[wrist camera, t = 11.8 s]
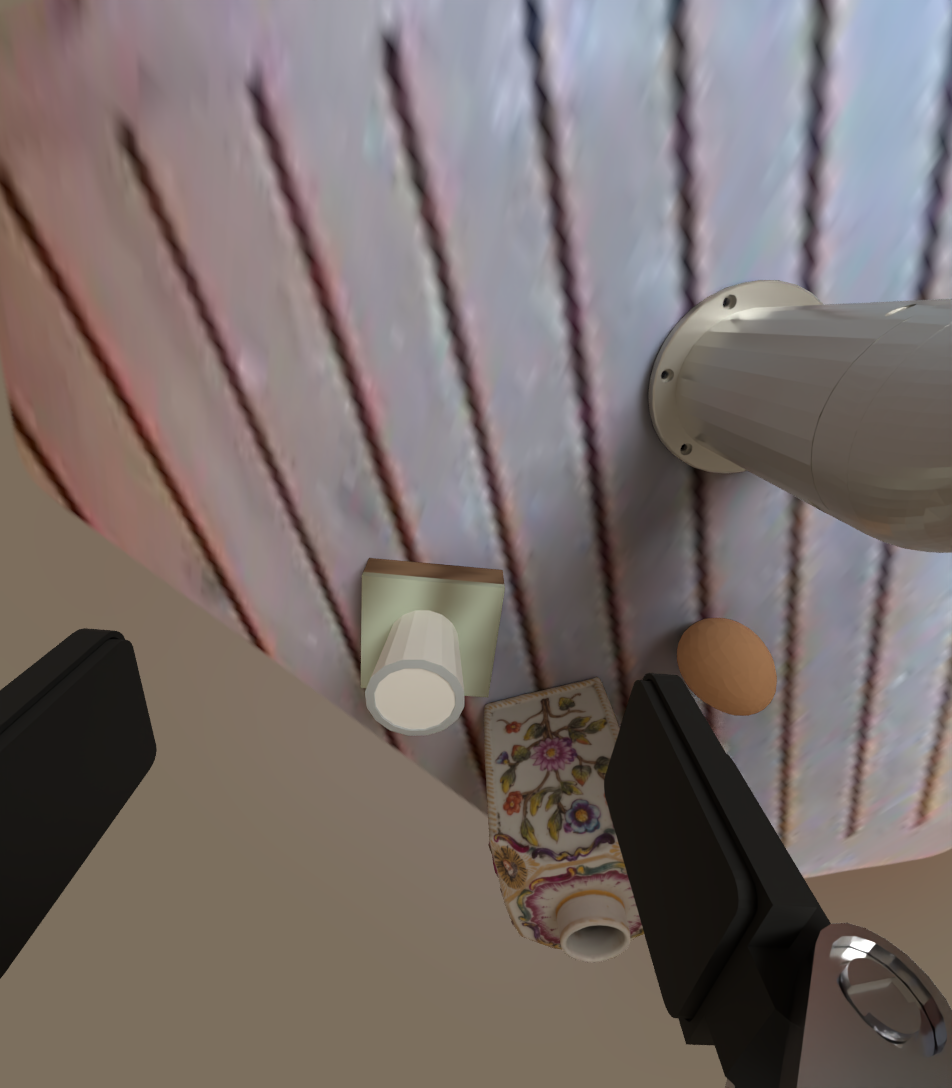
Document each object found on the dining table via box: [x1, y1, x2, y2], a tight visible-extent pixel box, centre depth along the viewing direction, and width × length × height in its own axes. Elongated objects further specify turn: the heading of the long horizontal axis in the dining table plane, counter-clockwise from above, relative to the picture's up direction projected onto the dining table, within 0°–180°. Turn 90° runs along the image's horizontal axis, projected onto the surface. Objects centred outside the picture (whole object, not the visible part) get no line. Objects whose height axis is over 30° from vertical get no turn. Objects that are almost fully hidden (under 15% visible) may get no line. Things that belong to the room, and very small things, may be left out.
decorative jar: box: [484, 677, 644, 963], centre depth 40 cm, size 12×12×18 cm
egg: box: [677, 618, 777, 716], centre depth 39 cm, size 7×7×9 cm
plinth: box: [361, 558, 505, 697], centre depth 41 cm, size 11×11×3 cm
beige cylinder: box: [365, 610, 464, 736], centre depth 36 cm, size 7×7×7 cm
